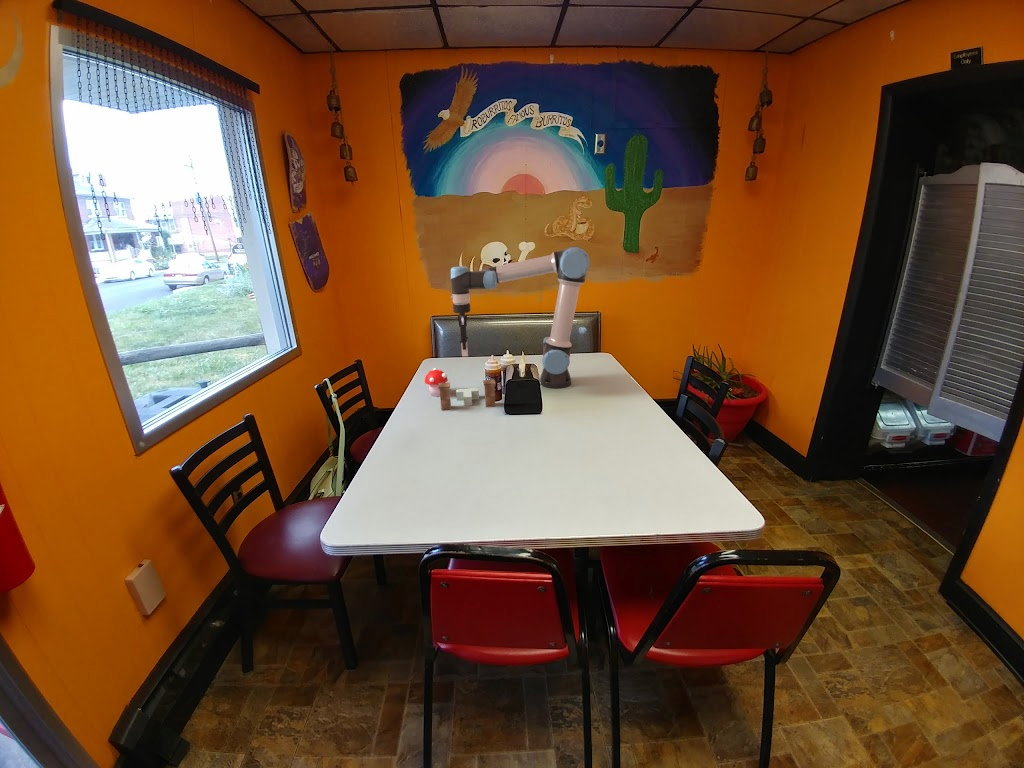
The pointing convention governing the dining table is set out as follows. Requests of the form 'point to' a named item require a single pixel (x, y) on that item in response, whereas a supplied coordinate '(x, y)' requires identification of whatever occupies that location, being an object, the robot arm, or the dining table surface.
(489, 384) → the post
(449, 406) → the post
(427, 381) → the mushroom
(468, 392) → the t block
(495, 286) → the robot arm
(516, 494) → the dining table surface
